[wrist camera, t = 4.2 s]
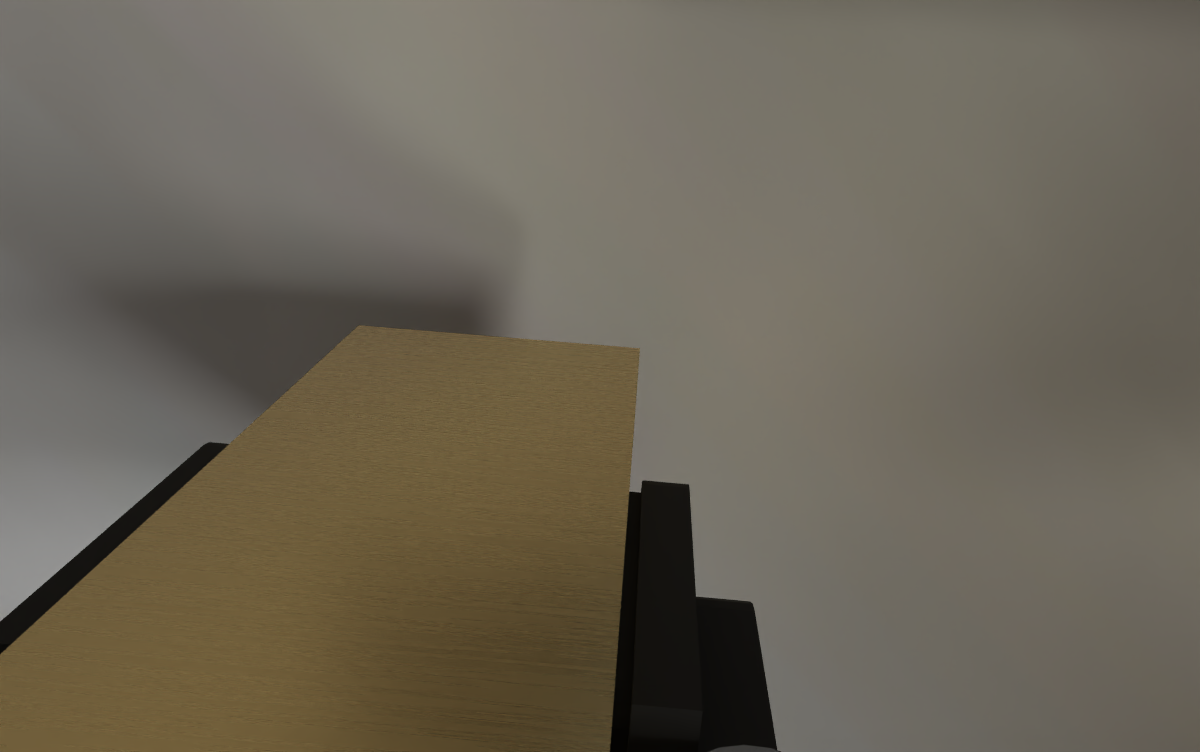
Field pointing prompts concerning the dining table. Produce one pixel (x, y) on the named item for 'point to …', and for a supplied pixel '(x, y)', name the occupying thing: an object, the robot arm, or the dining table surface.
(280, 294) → the dining table surface
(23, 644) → the wooden square peg
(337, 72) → the dining table surface
